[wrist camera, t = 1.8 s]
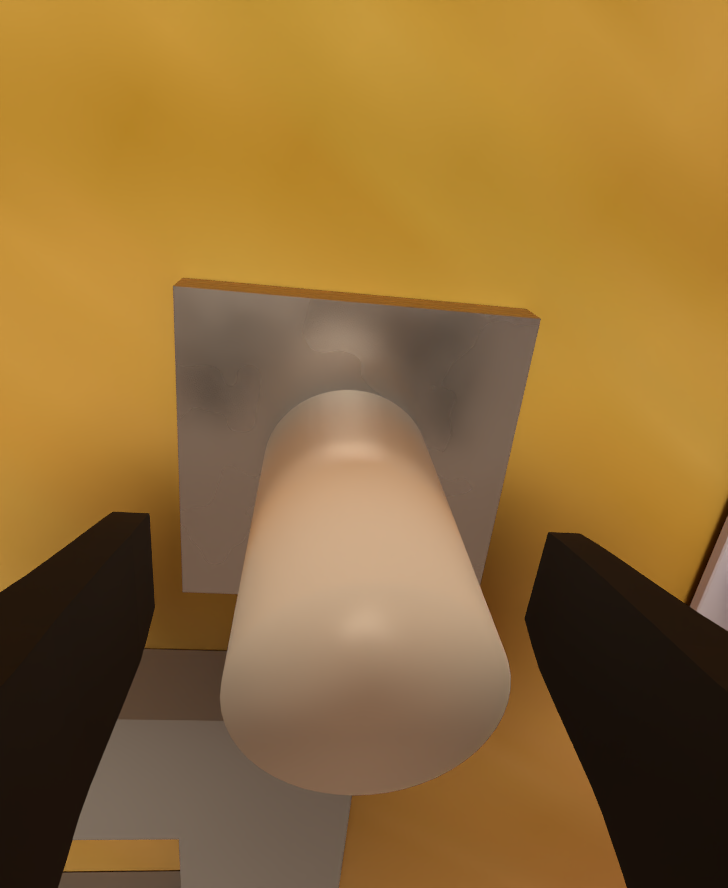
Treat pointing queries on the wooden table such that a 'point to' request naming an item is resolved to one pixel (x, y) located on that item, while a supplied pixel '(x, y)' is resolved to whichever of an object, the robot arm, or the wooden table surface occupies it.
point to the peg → (358, 610)
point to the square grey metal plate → (331, 369)
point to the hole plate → (203, 792)
